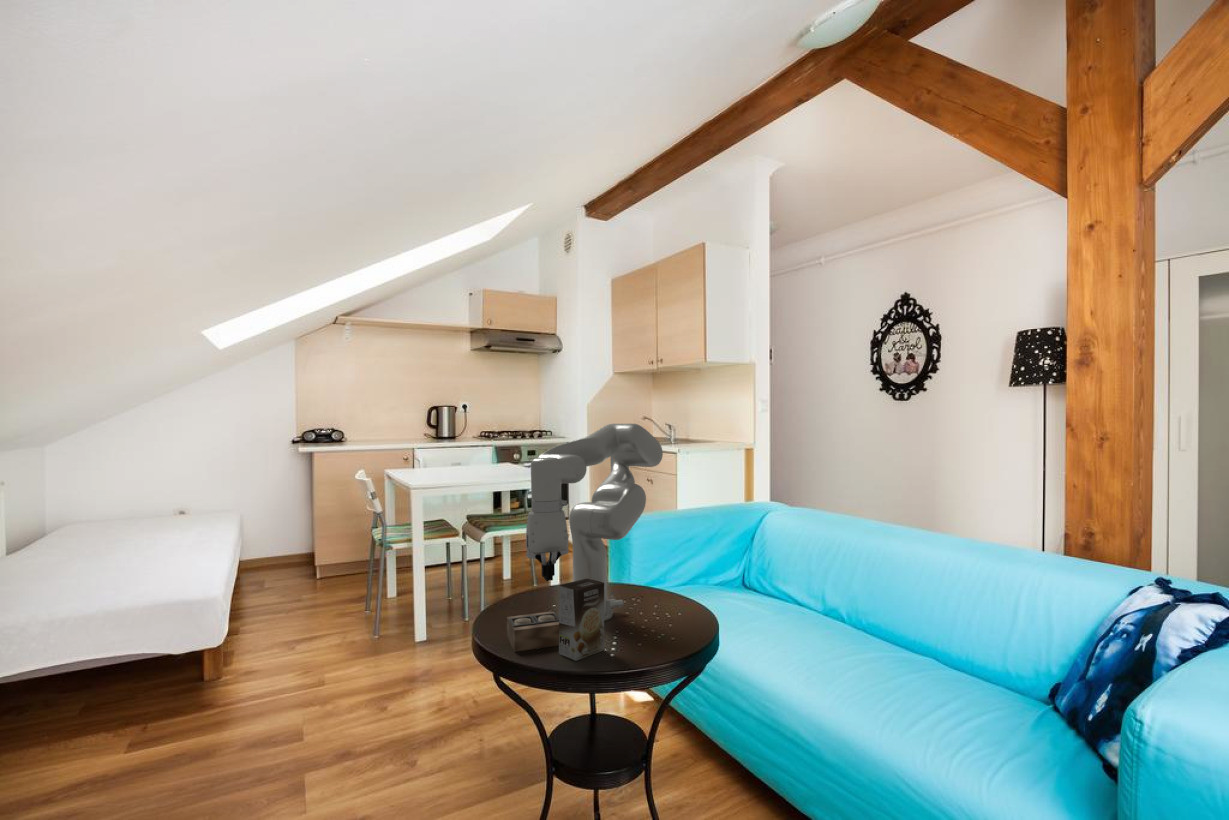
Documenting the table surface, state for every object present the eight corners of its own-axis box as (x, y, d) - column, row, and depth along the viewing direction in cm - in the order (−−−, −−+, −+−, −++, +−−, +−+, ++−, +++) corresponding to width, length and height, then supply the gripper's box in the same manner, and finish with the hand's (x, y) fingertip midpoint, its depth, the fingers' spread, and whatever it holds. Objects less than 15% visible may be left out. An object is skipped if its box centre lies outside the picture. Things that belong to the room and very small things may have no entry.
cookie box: (576, 662, 128) (576, 590, 128) (558, 654, 132) (558, 585, 133) (605, 650, 135) (604, 582, 135) (586, 643, 139) (586, 577, 139)
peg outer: (529, 635, 142) (529, 617, 142) (532, 641, 138) (532, 622, 139) (513, 637, 141) (513, 619, 141) (516, 643, 137) (516, 624, 137)
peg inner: (552, 632, 144) (552, 614, 144) (556, 637, 141) (556, 619, 141) (536, 634, 143) (536, 616, 143) (540, 639, 139) (540, 621, 139)
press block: (553, 630, 147) (553, 610, 148) (563, 644, 138) (563, 622, 138) (506, 637, 143) (506, 615, 143) (514, 651, 134) (514, 629, 134)
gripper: (570, 502, 149) (572, 571, 149) (514, 506, 144) (515, 579, 144) (579, 506, 142) (581, 579, 142) (520, 511, 137) (521, 587, 137)
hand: (548, 579), depth 143 cm, fingers closed
